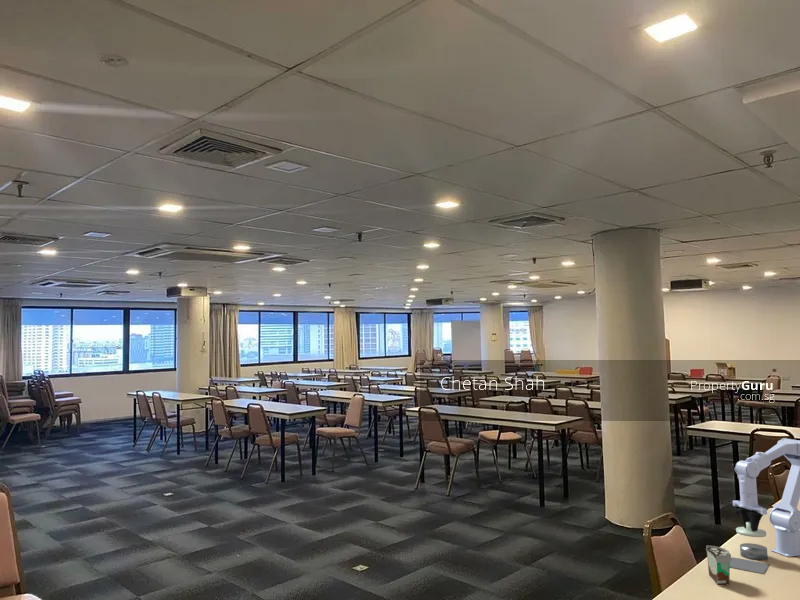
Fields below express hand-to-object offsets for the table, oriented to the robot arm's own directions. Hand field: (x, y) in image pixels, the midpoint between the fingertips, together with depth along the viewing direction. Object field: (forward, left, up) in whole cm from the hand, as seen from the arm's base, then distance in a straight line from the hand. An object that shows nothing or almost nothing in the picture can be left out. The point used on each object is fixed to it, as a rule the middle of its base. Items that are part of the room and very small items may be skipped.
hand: (750, 529), depth 226 cm
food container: (+28, +16, -11) cm, 34 cm away
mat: (+9, +7, -11) cm, 15 cm away
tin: (-2, -1, -11) cm, 11 cm away
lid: (0, 0, -1) cm, 1 cm away
